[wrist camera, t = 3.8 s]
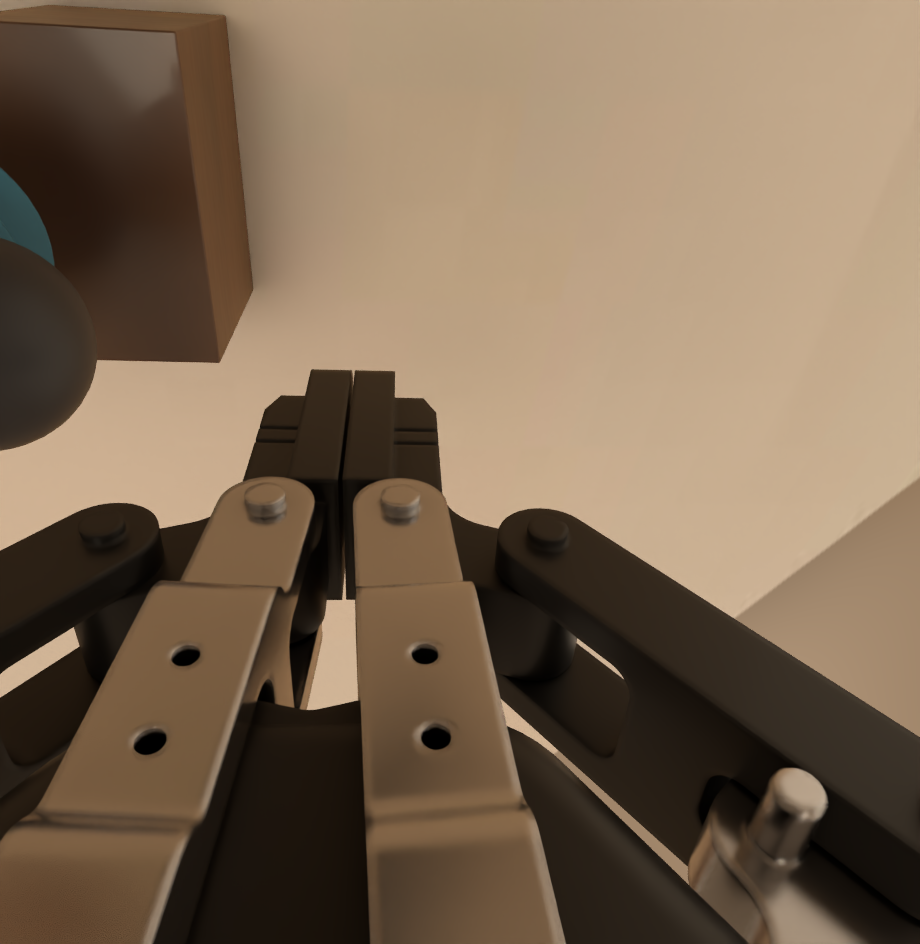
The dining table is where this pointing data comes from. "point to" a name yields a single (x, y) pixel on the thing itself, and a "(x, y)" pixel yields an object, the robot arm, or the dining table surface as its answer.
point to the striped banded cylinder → (37, 328)
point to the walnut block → (132, 170)
